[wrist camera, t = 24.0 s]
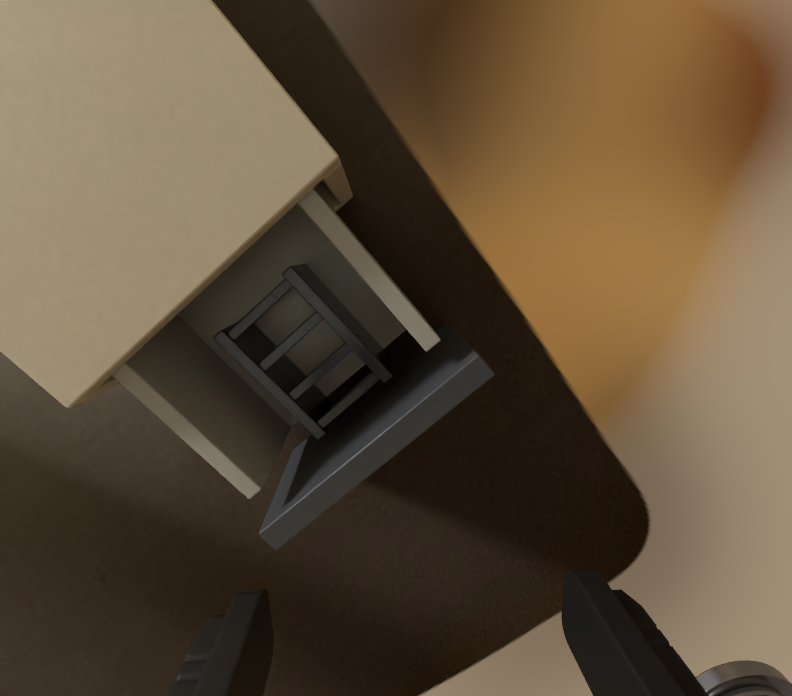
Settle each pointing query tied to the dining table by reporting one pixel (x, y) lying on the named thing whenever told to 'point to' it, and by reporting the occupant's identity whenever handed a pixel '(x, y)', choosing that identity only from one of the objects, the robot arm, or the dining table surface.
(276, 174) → the cream drawer box
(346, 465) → the two-tone hollow box
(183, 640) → the dining table surface
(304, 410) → the rack
